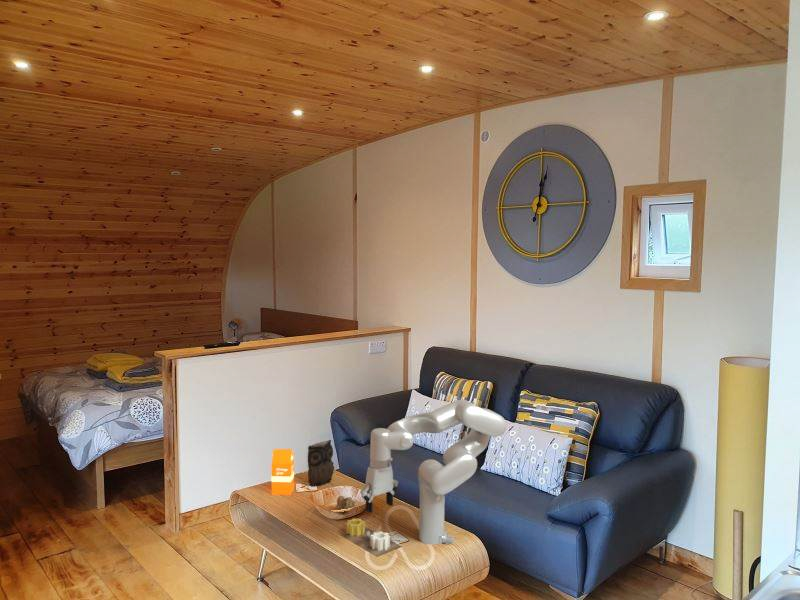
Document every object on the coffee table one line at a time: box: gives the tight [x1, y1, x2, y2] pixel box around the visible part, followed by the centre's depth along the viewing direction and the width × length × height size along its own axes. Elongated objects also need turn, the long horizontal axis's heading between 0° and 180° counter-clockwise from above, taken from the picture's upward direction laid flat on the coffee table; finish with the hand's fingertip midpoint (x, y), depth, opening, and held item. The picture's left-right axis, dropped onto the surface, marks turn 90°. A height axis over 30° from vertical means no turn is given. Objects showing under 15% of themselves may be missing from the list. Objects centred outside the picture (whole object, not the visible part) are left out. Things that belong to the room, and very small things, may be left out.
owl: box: [307, 439, 335, 488], centre depth 293 cm, size 13×13×20 cm
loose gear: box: [371, 530, 391, 551], centre depth 228 cm, size 7×7×4 cm
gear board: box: [337, 525, 403, 558], centre depth 232 cm, size 24×12×4 cm, turn 41°
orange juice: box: [270, 448, 295, 496], centre depth 282 cm, size 8×9×20 cm
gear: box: [346, 517, 366, 536], centre depth 239 cm, size 7×7×4 cm
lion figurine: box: [336, 495, 357, 510], centre depth 259 cm, size 15×5×9 cm, turn 34°
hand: (379, 508), depth 226 cm, fingers open, 9 cm apart
